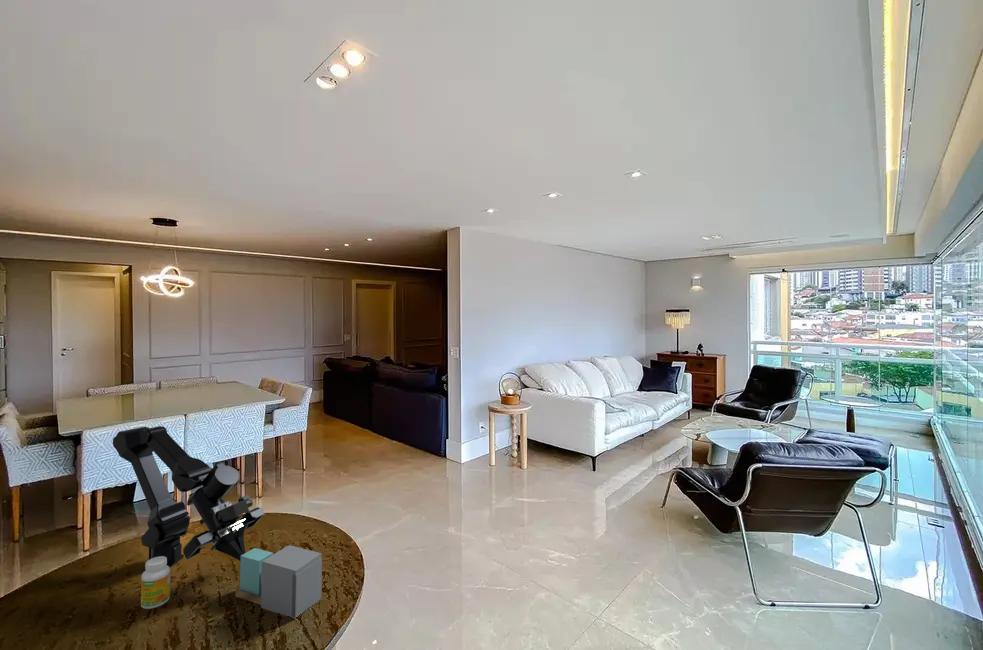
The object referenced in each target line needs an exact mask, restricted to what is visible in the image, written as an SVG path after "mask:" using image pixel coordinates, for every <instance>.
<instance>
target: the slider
mask: <svg viewBox="0 0 983 650" xmlns="http://www.w3.org/2000/svg"><path fill="white" fill-rule="evenodd" d="M273 554H274V552H271V551H268V550H263V549H260V548H256V547H254V548H252V549H251V550H248V551H247V552H245V554H243V555H241V561H239V562H240V565H239V567H240V571H239V572H240V574H239V580H240V581H239V590H241V591H244V592H247V593H251V594H254V595H257V596H260V597H261V586H262V561H263V560H265V559H267V558H268V557H270V556H272V555H273Z"/></svg>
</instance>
